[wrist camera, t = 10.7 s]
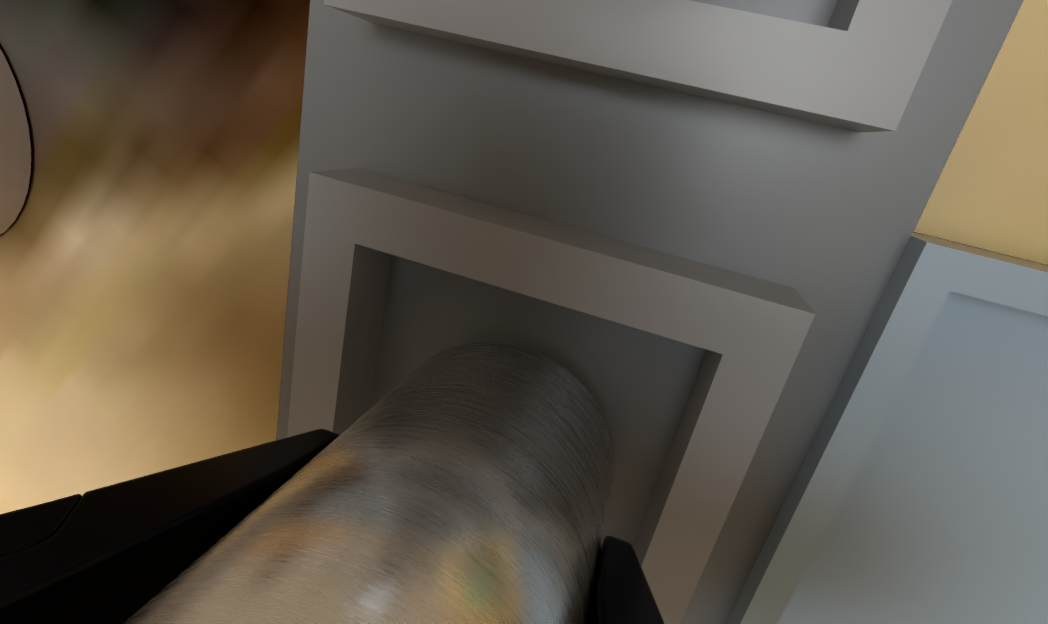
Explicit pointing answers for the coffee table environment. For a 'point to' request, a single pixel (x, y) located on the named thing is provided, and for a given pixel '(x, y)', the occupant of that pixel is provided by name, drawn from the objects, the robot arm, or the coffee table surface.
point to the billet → (426, 510)
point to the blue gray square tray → (925, 460)
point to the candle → (12, 148)
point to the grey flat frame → (625, 225)
